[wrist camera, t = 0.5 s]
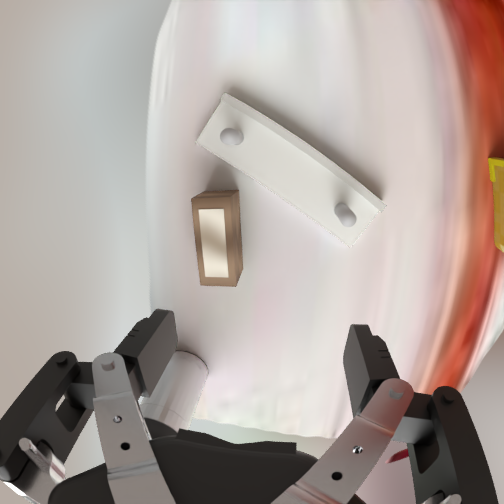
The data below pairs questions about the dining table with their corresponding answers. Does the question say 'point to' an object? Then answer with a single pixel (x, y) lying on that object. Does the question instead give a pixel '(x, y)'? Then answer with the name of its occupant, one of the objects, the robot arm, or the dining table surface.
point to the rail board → (290, 169)
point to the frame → (218, 237)
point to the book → (498, 199)
